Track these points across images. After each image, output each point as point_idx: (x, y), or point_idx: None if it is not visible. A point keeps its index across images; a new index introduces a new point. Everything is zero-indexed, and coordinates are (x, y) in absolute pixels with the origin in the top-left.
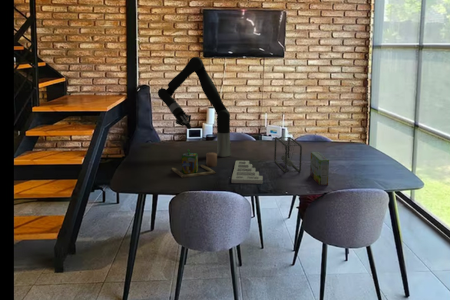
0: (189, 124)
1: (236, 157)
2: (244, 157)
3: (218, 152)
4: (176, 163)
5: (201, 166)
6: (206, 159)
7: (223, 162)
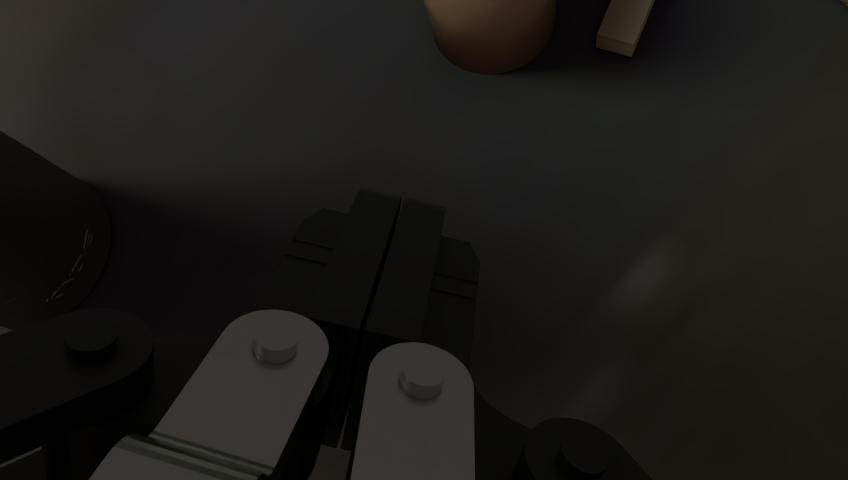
0: (299, 281)
1: (44, 88)
2: (3, 35)
3: (74, 246)
4: (782, 400)
5: (642, 29)
6: (540, 4)
7: (308, 26)
